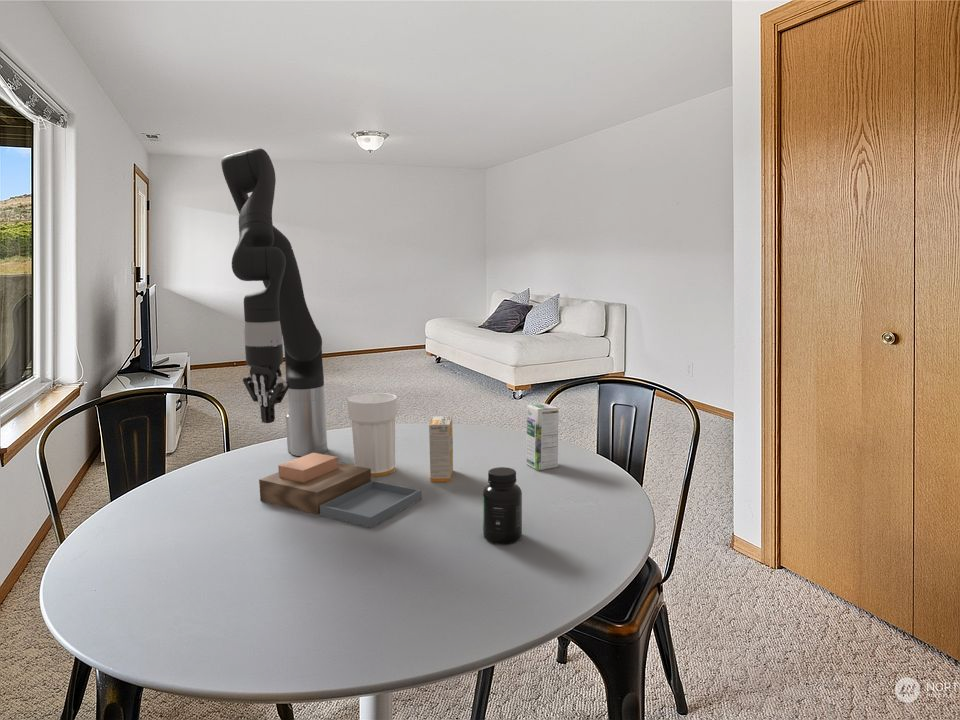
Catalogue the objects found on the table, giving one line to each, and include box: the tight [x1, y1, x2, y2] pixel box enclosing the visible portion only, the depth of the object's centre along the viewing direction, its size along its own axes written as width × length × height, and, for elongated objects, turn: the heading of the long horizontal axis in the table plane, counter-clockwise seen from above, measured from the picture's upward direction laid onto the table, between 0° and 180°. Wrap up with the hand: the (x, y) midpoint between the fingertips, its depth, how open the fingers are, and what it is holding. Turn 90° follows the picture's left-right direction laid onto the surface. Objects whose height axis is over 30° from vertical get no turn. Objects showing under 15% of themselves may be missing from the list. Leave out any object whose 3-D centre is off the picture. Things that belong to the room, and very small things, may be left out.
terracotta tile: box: [277, 453, 339, 482], centre depth 134 cm, size 7×10×2 cm
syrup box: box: [525, 403, 560, 471], centre depth 150 cm, size 6×6×14 cm
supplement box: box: [428, 415, 454, 483], centre depth 143 cm, size 8×5×13 cm, turn 179°
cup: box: [346, 392, 398, 478], centre depth 148 cm, size 11×11×17 cm
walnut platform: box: [258, 462, 372, 516], centre depth 134 cm, size 16×16×4 cm
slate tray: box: [319, 479, 422, 529], centre depth 127 cm, size 12×16×2 cm
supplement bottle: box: [482, 466, 523, 545], centre depth 111 cm, size 7×7×12 cm
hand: (268, 422), depth 137 cm, fingers closed
